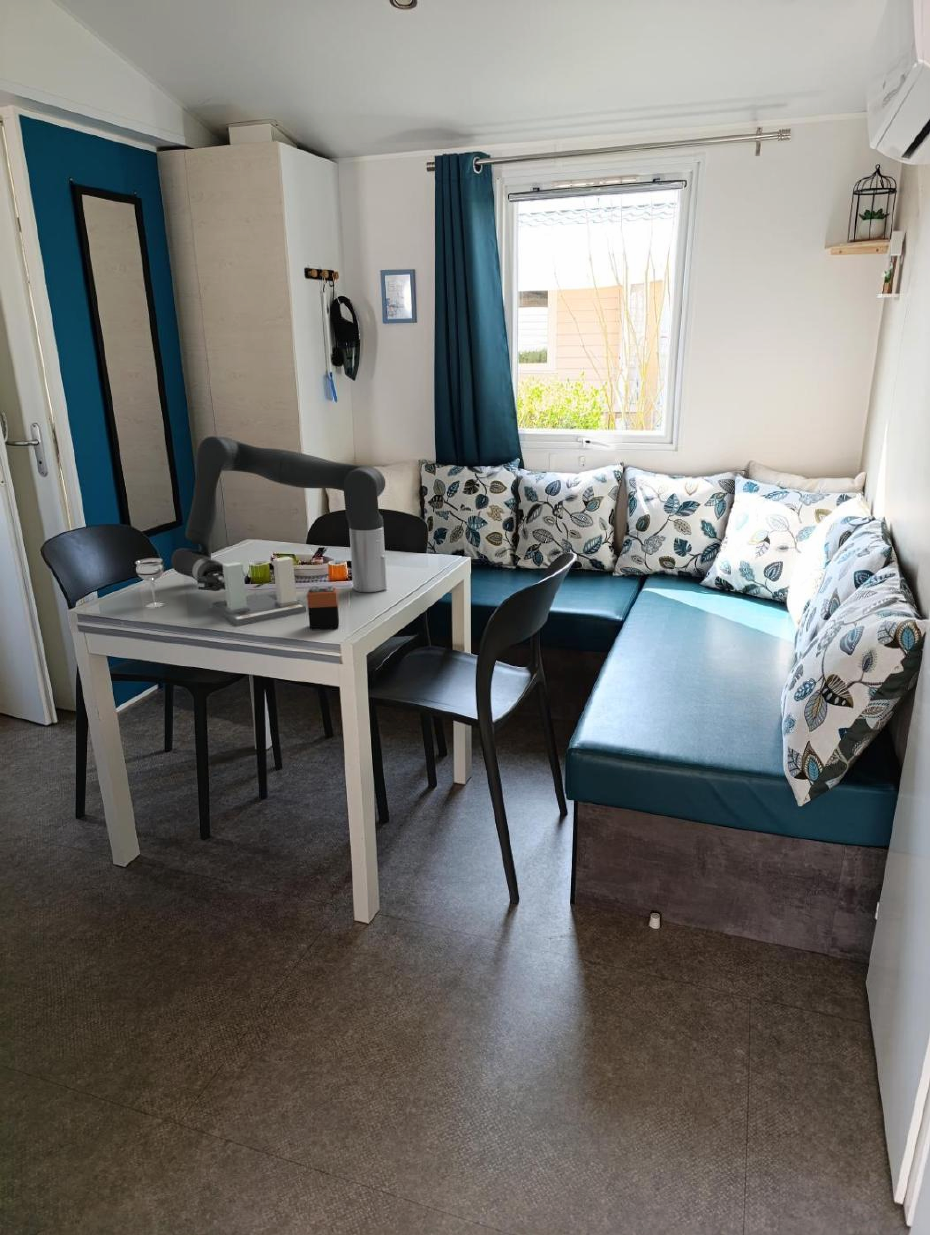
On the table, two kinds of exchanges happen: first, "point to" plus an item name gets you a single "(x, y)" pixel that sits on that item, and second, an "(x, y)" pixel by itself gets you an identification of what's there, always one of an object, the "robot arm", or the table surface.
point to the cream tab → (285, 582)
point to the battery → (323, 608)
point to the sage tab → (235, 588)
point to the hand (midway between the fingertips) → (233, 588)
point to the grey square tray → (258, 609)
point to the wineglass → (150, 573)
